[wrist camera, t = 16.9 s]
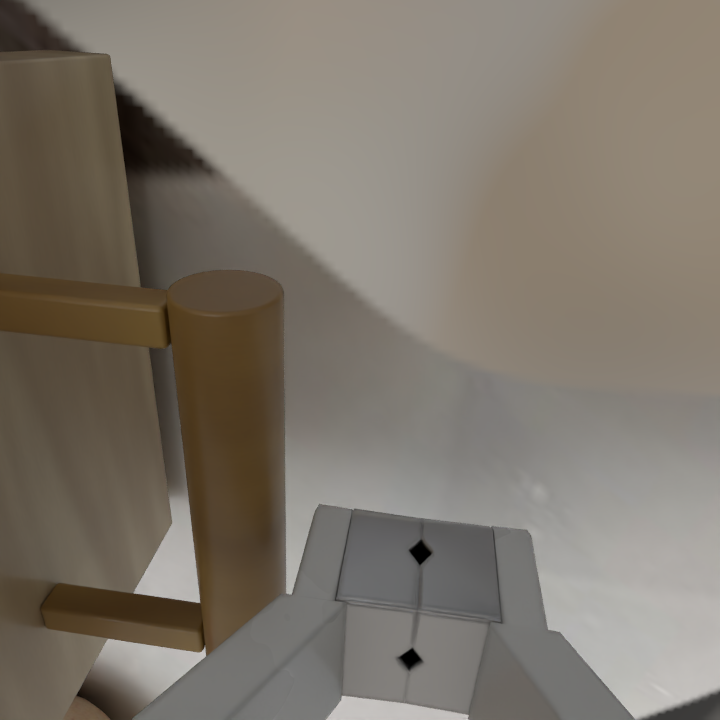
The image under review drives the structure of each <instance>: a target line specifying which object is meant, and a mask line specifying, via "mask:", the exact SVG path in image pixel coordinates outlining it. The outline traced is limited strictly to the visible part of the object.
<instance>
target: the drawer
mask: <svg viewBox="0 0 720 720" xmlns="http://www.w3.org/2000/svg"><path fill="white" fill-rule="evenodd" d="M170 344H172V353H173V362H174V371H175V380H176V389H177V398H178V407H179V416H180V424H181V433H182V442H183V451H184V460H185V469H186V478H187V487H188V496H189V505H190V514H191V523H192V532H193V541H194V550H195V559H196V568H197V576H198V585H199V594H200V603H195V602H188V601H182V600H175V599H168V598H161V597H154V596H147V595H141V594H134V593H133V592H134V591H135V589H136V587H137V585H138V583H139V582H140V580H141V578H142V576H143V574H144V573H145V571H146V569H147V567H148V565H149V564H150V562H151V560H152V558H153V556H154V555H155V553H156V551H157V549H158V548H159V546H160V544H161V542H162V540H163V539H164V537H165V535H166V533H167V531H168V530H169V528H170V526H171V524H172V517H171V510H170V502H169V495H168V487H167V480H166V472H165V465H164V457H163V450H162V442H161V435H160V427H159V420H158V412H157V405H156V397H155V390H154V382H153V375H152V367H151V360H150V352H149V348H158V349H164V348H167V347H169V345H170ZM280 594H286V512H285V388H284V292H283V289H282V287H281V285H280V284H279V283H278V282H277V281H276V280H274V279H272V278H270V277H268V276H266V275H262V274H259V273H255V272H249V271H241V270H215V271H207V272H201V273H197V274H193V275H190V276H187V277H184V278H182V279H180V280H178V281H176V282H175V283H173V284H172V285H171V286H170V287H169V289H168V290H161V289H151V288H142V287H141V285H140V277H139V270H138V262H137V254H136V247H135V239H134V232H133V224H132V217H131V209H130V202H129V194H128V187H127V179H126V172H125V164H124V157H123V149H122V142H121V134H120V127H119V119H118V112H117V104H116V97H115V89H114V82H113V74H112V67H111V59H110V56H109V55H108V54H100V53H85V52H71V51H56V50H37V51H15V52H0V720H63V718H64V716H65V714H66V713H67V711H68V709H69V707H70V705H71V704H72V702H73V700H74V698H75V696H76V695H77V693H78V691H79V689H80V687H81V686H82V684H83V682H84V680H85V678H86V677H87V675H88V673H89V671H90V670H91V668H92V666H93V664H94V662H95V661H96V659H97V657H98V655H99V653H100V652H101V650H102V648H103V646H104V644H105V643H106V641H107V639H115V640H121V641H128V642H134V643H141V644H147V645H154V646H160V647H167V648H173V649H180V650H186V651H193V652H202V650H203V649H204V646H205V648H206V656H207V655H208V654H210V653H211V652H212V651H213V650H214V649H216V648H217V647H218V646H219V645H220V644H222V643H223V642H224V641H225V640H226V639H228V638H229V637H230V636H231V635H232V634H234V633H235V632H236V631H237V630H238V629H239V628H241V627H242V626H243V625H244V624H245V623H247V622H248V621H249V620H250V619H251V618H253V617H254V616H255V615H256V614H257V613H259V612H260V611H261V610H262V609H263V608H265V607H266V606H267V605H268V604H269V603H270V602H272V601H273V600H274V599H275V598H276V597H278V596H279V595H280Z"/></svg>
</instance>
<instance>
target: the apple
mask: <svg viewBox="0 0 720 720" xmlns="http://www.w3.org/2000/svg"><path fill="white" fill-rule="evenodd" d="M63 720H110V719H109V718H108V716H107V715H106V714H105V713H104V712H102V711H101V710H100V709H99V708H98V707H96V706H95V705H93V704H92V703H91V702H89V701H88V700H86V699H84V698H82V697H78V696H75V698H74V700H73V702H72V704H71V705H70V707H69V709H68V711H67V713H66V714H65V716H64V718H63Z"/></svg>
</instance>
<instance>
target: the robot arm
mask: <svg viewBox="0 0 720 720" xmlns="http://www.w3.org/2000/svg"><path fill="white" fill-rule="evenodd" d="M341 696H351V697H359V698H367V699H375V700H383V701H392V702H400V703H407V704H412V705H418V706H423V707H429V708H434V709H440V710H445V711H451V712H457V713H462V714H468V715H469V717H468V719H469V720H635V719H634V717H633V716H632V715H631V714H630V713H629V712H628V710H627V709H626V708H625V707H624V706H623V705H622V704H621V702H620V701H619V700H618V699H617V698H616V697H615V695H614V694H613V693H612V692H611V691H610V690H609V688H608V687H607V686H606V685H605V684H604V683H603V682H602V680H601V679H600V678H599V677H598V676H597V675H596V673H595V672H594V671H593V670H592V669H591V668H590V666H589V665H588V664H587V663H586V662H585V661H584V660H583V658H582V657H581V656H580V655H579V654H578V653H577V651H576V650H575V649H574V648H573V647H572V646H571V644H570V643H569V642H568V641H567V640H566V639H565V638H564V636H563V635H562V634H561V633H560V632H556V631H550V630H548V627H547V622H546V616H545V611H544V605H543V599H542V594H541V588H540V583H539V577H538V572H537V566H536V560H535V555H534V549H533V544H532V538H531V535H530V533H529V532H528V531H527V530H522V529H513V528H504V527H495V526H492V527H489V526H483V525H474V524H466V523H457V522H449V521H440V520H431V519H423V518H414V517H407V516H400V515H394V514H387V513H380V512H374V511H367V510H360V509H354V510H353V509H348V508H341V507H335V506H328V505H322V504H319V505H318V507H317V509H316V510H315V513H314V516H313V520H312V523H311V527H310V531H309V534H308V538H307V542H306V545H305V549H304V553H303V556H302V560H301V563H300V567H299V571H298V574H297V578H296V582H295V585H294V589H293V593H292V595H289V594H280V595H279V596H278V597H276V598H275V599H274V600H273V601H272V602H270V603H269V604H268V605H267V606H266V607H265V608H263V609H262V610H261V611H260V612H259V613H257V614H256V615H255V616H254V617H253V618H251V619H250V620H249V621H248V622H247V623H245V624H244V625H243V626H242V627H241V628H239V629H238V630H237V631H236V632H235V633H234V634H232V635H231V636H230V637H229V638H228V639H226V640H225V641H224V642H223V643H222V644H220V645H219V646H218V647H217V648H216V649H214V650H213V651H212V652H211V653H210V654H208V655H207V656H206V657H205V658H204V659H203V660H201V661H200V662H199V663H198V664H197V665H195V666H194V667H193V668H192V669H191V670H189V671H188V672H187V673H186V674H185V675H183V676H182V677H181V678H180V679H179V680H177V681H176V682H175V683H174V684H173V685H172V686H170V687H169V688H168V689H167V690H166V691H164V692H163V693H162V694H161V695H160V696H158V697H157V698H156V699H155V700H154V701H152V702H151V703H150V704H149V705H148V706H147V707H145V708H144V709H143V710H142V711H141V712H139V713H138V714H137V715H136V716H135V717H133V718H132V720H326V719H327V717H328V716H329V715H330V714H331V712H332V711H333V710H334V708H335V707H336V706H337V705H338V703H339V702H340V701H341Z"/></svg>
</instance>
